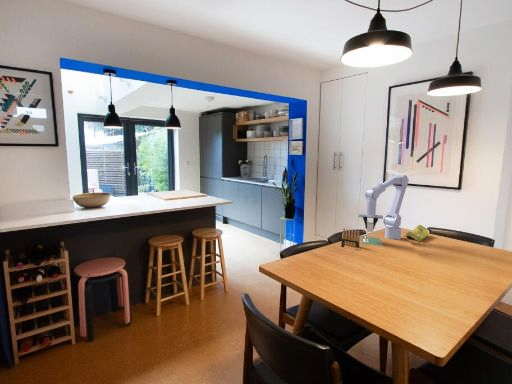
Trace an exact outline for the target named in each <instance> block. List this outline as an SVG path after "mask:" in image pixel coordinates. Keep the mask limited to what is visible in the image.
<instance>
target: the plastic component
mask: <svg viewBox="0 0 512 384" xmlns="http://www.w3.org/2000/svg"><path fill="white" fill-rule="evenodd" d="M429 234H430V230H429V229H428V228H427V227H425V226H423V225H422V224H418V225H417V226H416V227H415V228H414V229H413V230H411V231H408V232H407V233H405V235H403V237H406V238H407V237H411V238H412V239H414V240H415V241H416V242H422V241H423V240H424V239H426V238H427V236H429Z"/></svg>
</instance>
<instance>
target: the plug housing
mask: <svg viewBox="0 0 512 384" xmlns="http://www.w3.org/2000/svg"><path fill="white" fill-rule="evenodd" d="M373 226H374V224H373V221H368V220H367V229H366V228H365V230H366V232H368V233H374V230H373Z"/></svg>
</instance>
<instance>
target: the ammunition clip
mask: <svg viewBox="0 0 512 384" xmlns="http://www.w3.org/2000/svg"><path fill="white" fill-rule="evenodd" d="M360 238H361V237H360V230H357V229H355V230H354V229H352V228H351V229H350V228H349V229H348V228H345V227H343V229H342V235H341V245H340V247H342V248H345V246H348V247H353V248H354V247H355V250H357V251H358V250H360V249H357V248H360V240H361V239H360Z"/></svg>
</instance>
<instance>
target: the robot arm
mask: <svg viewBox="0 0 512 384" xmlns="http://www.w3.org/2000/svg"><path fill="white" fill-rule="evenodd" d="M409 182H410V181H409V177H408V176H407V175H405V174H395V173H393V174H391V175H389V178H387V179H386V180H385V181H384V182H383V183H377V185H375V186H373V187H372V188H371V189H370V188H369V189H367V190H366V191H365V194H364V195H365V199H366V208H365V209H366V210H365V213H358V214H357V215H358V216H357V217H358V218H362V219H363V222H364V225H365V230H366V229H367V221H368V219H372V222H373V224H374V226H373V231H374V230H375V228H376V224H377V223H378V221H379V219H381V220H383V222H382V223H383V224H384V226H385V230H384V231H385V232H384V238H385V239H388V240H400V241H401V239H402V238H401V234H402V233H401V232H402V228H401V227H400V226H401V224H402V216H401V215H400V214H399V213H400V209H401V207H402V203H403V200H404V197H405V192H406V189H407V187H408V184H409ZM390 186H393V187H394V188H395V190H396V191H395V193H394V197H393V200H392V203H391V207H390V209H389V211H388V212H386V214H385V216H384V215H380V214H376V212H377V200H378V198H379V197H380V195H381V194H382V193H384V192H386V190H387V188H389V187H390Z"/></svg>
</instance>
